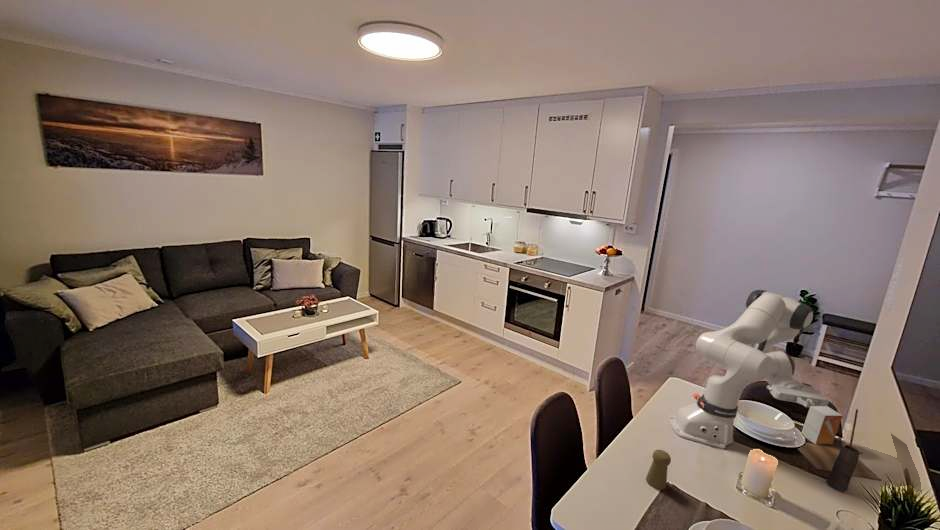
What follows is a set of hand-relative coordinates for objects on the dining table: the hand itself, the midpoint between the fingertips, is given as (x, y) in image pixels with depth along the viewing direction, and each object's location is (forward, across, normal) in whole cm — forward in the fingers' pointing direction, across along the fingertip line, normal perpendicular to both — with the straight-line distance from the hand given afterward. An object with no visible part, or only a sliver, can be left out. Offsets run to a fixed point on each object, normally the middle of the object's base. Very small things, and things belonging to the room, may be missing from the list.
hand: (810, 406), depth 163 cm
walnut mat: (+20, -2, +10) cm, 22 cm away
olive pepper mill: (+50, -72, +10) cm, 88 cm away
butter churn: (+36, -10, +10) cm, 39 cm away
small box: (+8, 0, +10) cm, 13 cm away
